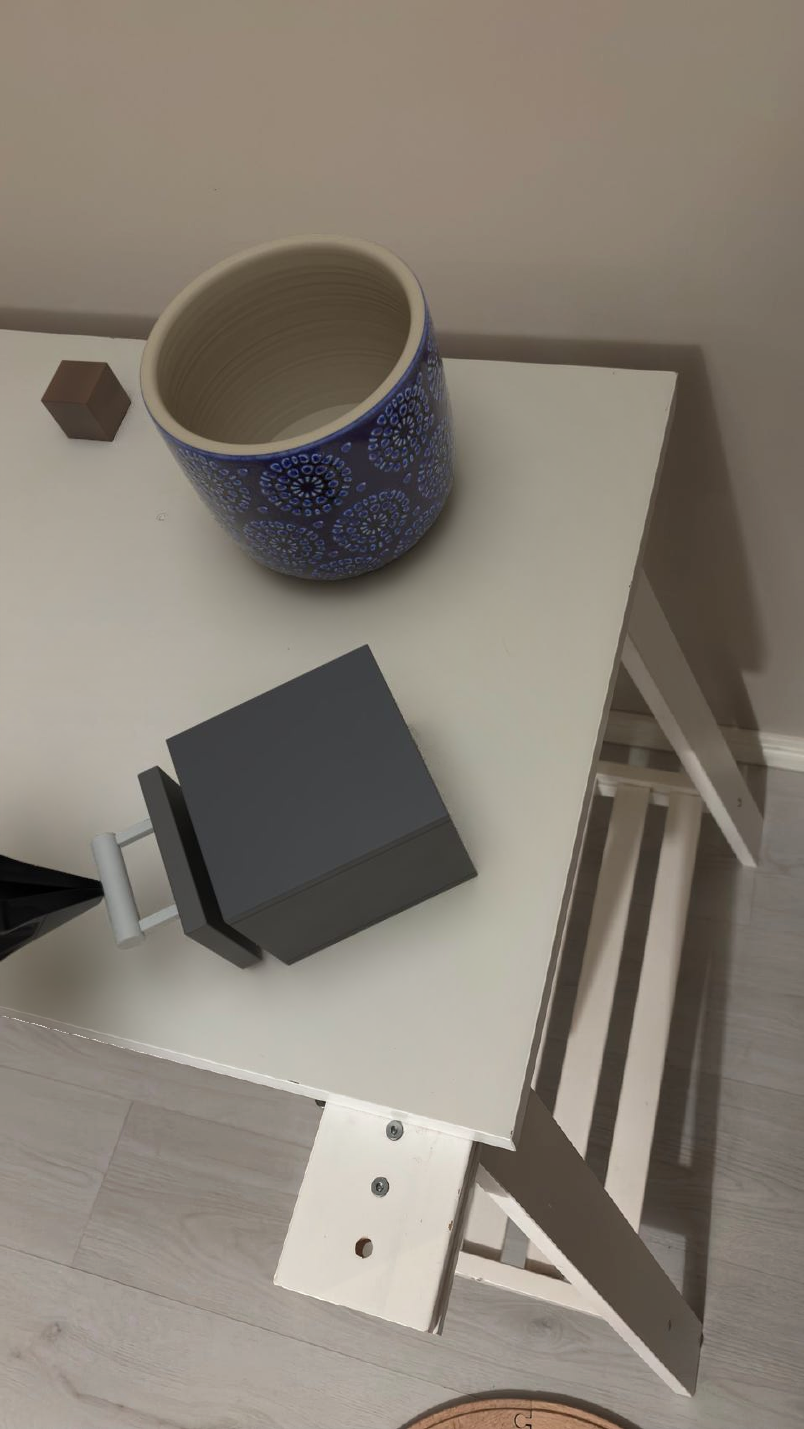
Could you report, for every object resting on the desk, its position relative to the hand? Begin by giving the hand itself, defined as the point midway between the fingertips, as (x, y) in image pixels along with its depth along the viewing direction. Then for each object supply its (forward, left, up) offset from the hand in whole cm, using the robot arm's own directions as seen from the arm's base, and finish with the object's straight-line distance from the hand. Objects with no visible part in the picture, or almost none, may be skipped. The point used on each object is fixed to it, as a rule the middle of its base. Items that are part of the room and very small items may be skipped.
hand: (101, 892), depth 50 cm
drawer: (+7, 0, -6) cm, 9 cm away
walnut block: (+6, +40, -7) cm, 41 cm away
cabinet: (+12, 0, -7) cm, 14 cm away
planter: (+20, +22, -7) cm, 31 cm away
